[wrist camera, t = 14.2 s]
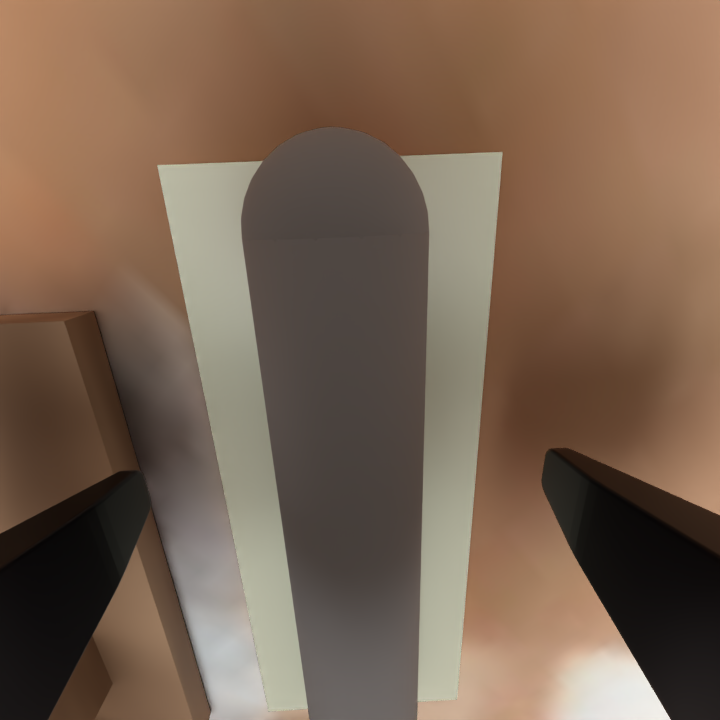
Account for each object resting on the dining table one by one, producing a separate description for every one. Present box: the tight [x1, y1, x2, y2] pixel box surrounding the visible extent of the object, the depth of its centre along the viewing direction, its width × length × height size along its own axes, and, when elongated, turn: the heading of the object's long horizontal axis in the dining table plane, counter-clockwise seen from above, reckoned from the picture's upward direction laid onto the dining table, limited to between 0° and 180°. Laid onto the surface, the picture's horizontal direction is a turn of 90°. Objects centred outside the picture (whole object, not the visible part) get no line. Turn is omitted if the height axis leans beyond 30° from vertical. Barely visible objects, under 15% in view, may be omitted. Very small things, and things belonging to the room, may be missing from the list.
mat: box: [157, 152, 503, 712], centre depth 11 cm, size 7×18×1 cm, turn 2°
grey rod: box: [241, 127, 429, 720], centre depth 9 cm, size 3×18×3 cm, turn 2°
